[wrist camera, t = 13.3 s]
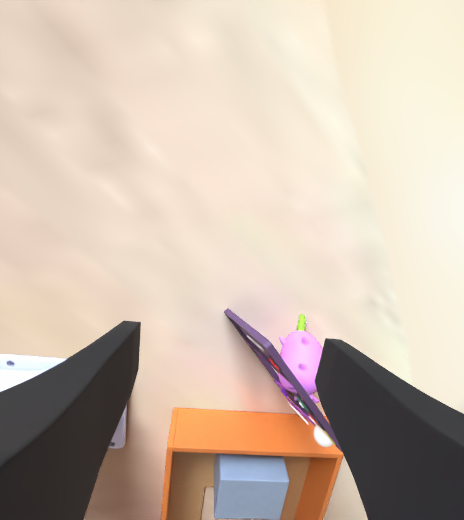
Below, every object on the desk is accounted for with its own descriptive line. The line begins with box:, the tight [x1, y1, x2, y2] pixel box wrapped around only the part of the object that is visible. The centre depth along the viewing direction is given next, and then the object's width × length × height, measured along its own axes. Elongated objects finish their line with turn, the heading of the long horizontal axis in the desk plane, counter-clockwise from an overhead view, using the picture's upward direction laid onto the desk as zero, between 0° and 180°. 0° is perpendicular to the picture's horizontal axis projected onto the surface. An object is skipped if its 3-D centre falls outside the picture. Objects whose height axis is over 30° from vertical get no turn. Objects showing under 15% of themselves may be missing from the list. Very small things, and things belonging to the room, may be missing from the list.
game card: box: [224, 309, 342, 452], centre depth 19 cm, size 7×5×9 cm
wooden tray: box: [161, 408, 344, 520], centre depth 25 cm, size 13×20×4 cm, turn 173°
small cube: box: [214, 453, 289, 520], centre depth 23 cm, size 5×4×4 cm
